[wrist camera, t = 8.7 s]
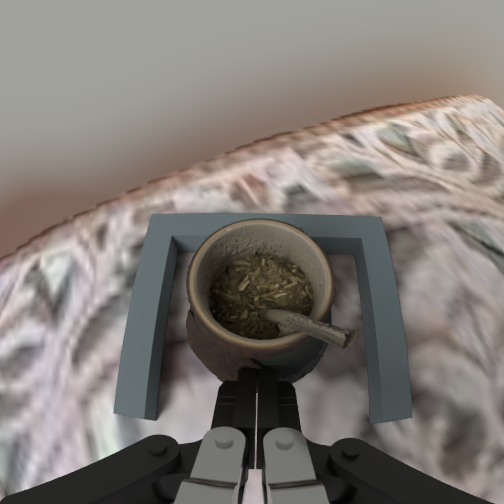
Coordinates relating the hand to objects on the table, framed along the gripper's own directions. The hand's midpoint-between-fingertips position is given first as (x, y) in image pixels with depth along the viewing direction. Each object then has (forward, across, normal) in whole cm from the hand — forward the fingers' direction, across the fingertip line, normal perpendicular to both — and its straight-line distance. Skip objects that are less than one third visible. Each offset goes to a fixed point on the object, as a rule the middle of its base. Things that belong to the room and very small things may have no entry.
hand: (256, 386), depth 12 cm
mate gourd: (+6, 0, +1) cm, 6 cm away
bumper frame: (+6, 0, +1) cm, 6 cm away
